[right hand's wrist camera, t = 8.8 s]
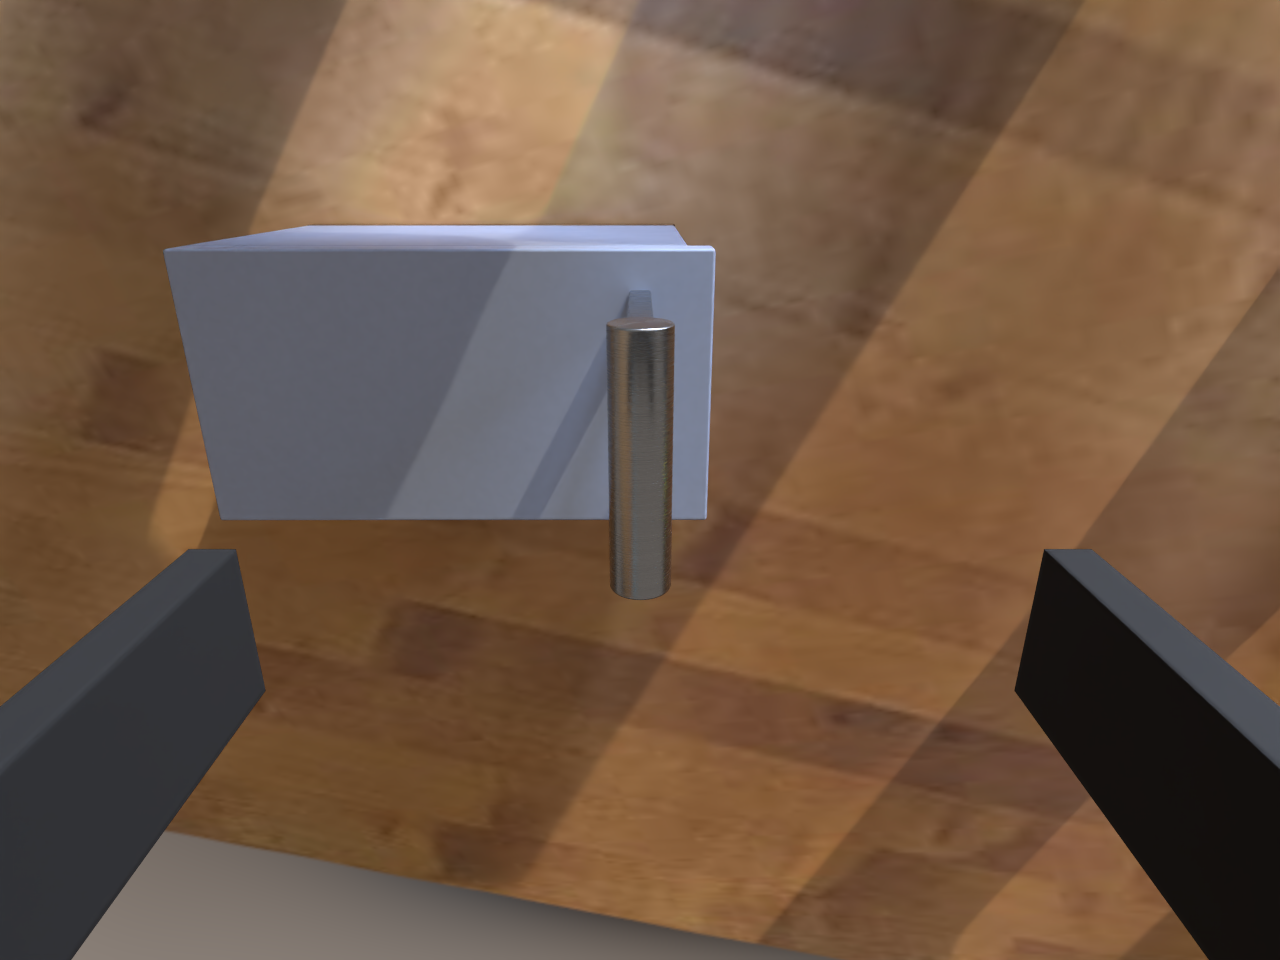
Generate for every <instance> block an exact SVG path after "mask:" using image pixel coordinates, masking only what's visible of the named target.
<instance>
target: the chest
mask: <svg viewBox="0 0 1280 960" xmlns="http://www.w3.org/2000/svg"><path fill="white" fill-rule="evenodd" d="M187 246H687V245H686V243H685V241H684V240H683V238H682V237H681V235H680V234H679V232H678V231H677V229H676V228H675V225H674V224H312V225H307V226H303V227H297V228H290V229H284V230H278V231H272V232H266V233H260V234H253V235H247V236H241V237H235V238H229V239H222V240H216V241H210V242H204V243H198V244H192V245H187Z"/></svg>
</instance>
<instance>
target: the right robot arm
mask: <svg viewBox="0 0 1280 960" xmlns="http://www.w3.org/2000/svg"><path fill="white" fill-rule="evenodd" d="M264 692H265V686H264V681H263V676H262V672H261V667H260V662H259V657H258V653H257V648H256V643H255V638H254V633H253V629H252V624H251V619H250V614H249V610H248V605H247V600H246V595H245V591H244V586H243V581H242V576H241V572H240V567H239V562H238V557H237V553H236V549H188V550H187V551H186V552H185V553H184V554H182V555H181V556H180V557H179V558H178V559H176V560H175V561H174V562H173V563H172V564H170V565H169V566H168V567H167V568H166V569H164V570H163V571H162V572H161V573H160V574H158V575H157V576H156V577H155V578H154V579H152V580H151V581H150V582H149V583H148V584H147V585H145V586H144V587H143V588H142V589H141V590H139V591H138V592H137V593H136V594H135V595H133V596H132V597H131V598H130V599H129V600H127V601H126V602H125V603H124V604H123V605H121V606H120V607H119V608H118V609H117V610H115V611H114V612H113V613H112V614H111V615H109V616H108V617H107V618H106V619H105V620H103V621H102V622H101V623H100V624H99V625H97V626H96V627H95V628H94V629H93V630H91V631H90V632H89V633H88V634H87V635H85V636H84V637H83V638H82V639H81V640H79V641H78V642H77V643H76V644H75V645H73V646H72V647H71V648H70V649H69V650H68V651H66V652H65V653H64V654H63V655H62V656H60V657H59V658H58V659H57V660H56V661H54V662H53V663H52V664H51V665H50V666H48V667H47V668H46V669H45V670H44V671H42V672H41V673H40V674H39V675H38V676H36V677H35V678H34V679H33V680H32V681H30V682H29V683H28V684H27V685H26V686H24V687H23V688H22V689H21V690H20V691H18V692H17V693H16V694H15V695H14V696H12V697H11V698H10V699H9V700H8V701H6V702H5V703H4V704H3V705H2V706H0V960H71V959H72V958H73V956H74V955H75V954H76V952H77V951H78V950H79V948H80V947H81V945H82V944H83V943H84V941H85V940H86V938H87V937H88V936H89V934H90V933H91V932H92V930H93V929H94V927H95V926H96V925H97V923H98V922H99V920H100V919H101V918H102V916H103V915H104V914H105V912H106V911H107V909H108V908H109V907H110V905H111V904H112V902H113V901H114V900H115V898H116V897H117V896H118V894H119V893H120V891H121V890H122V889H123V887H124V886H125V884H126V883H127V882H128V880H129V879H130V877H131V876H132V875H133V873H134V872H135V871H136V869H137V868H138V866H139V865H140V864H141V862H142V861H143V860H144V858H145V857H146V855H147V854H148V853H149V851H150V850H151V848H152V847H153V846H154V844H155V843H156V842H157V840H158V839H159V837H160V836H161V835H162V833H163V832H164V830H165V829H166V828H167V826H168V825H169V824H170V822H171V821H172V819H173V818H174V817H175V815H176V814H177V812H178V811H179V810H180V808H181V807H182V806H183V804H184V803H185V801H186V800H187V799H188V797H189V796H190V794H191V793H192V792H193V790H194V789H195V788H196V786H197V785H198V783H199V782H200V781H201V779H202V778H203V776H204V775H205V774H206V772H207V771H208V770H209V768H210V767H211V765H212V764H213V763H214V761H215V760H216V758H217V757H218V756H219V754H220V753H221V752H222V750H223V749H224V747H225V746H226V745H227V743H228V742H229V741H230V739H231V738H232V736H233V735H234V734H235V732H236V731H237V729H238V728H239V727H240V725H241V724H242V723H243V721H244V720H245V718H246V717H247V716H248V714H249V713H250V711H251V710H252V709H253V707H254V706H255V705H256V703H257V702H258V700H259V699H260V698H261V696H262V695H263V693H264ZM1015 692H1016V693H1017V695H1018V696H1019V698H1020V699H1021V700H1022V702H1023V703H1024V705H1025V706H1026V707H1027V709H1028V710H1029V711H1030V713H1031V714H1032V716H1033V717H1034V718H1035V720H1036V721H1037V723H1038V724H1039V725H1040V727H1041V728H1042V729H1043V731H1044V732H1045V734H1046V735H1047V736H1048V738H1049V739H1050V741H1051V742H1052V743H1053V745H1054V746H1055V747H1056V749H1057V750H1058V752H1059V753H1060V754H1061V756H1062V757H1063V759H1064V760H1065V761H1066V763H1067V764H1068V765H1069V767H1070V768H1071V770H1072V771H1073V772H1074V774H1075V775H1076V776H1077V778H1078V779H1079V781H1080V782H1081V783H1082V785H1083V786H1084V788H1085V789H1086V790H1087V792H1088V793H1089V794H1090V796H1091V797H1092V799H1093V800H1094V801H1095V803H1096V804H1097V806H1098V807H1099V808H1100V810H1101V811H1102V812H1103V814H1104V815H1105V817H1106V818H1107V819H1108V821H1109V822H1110V824H1111V825H1112V826H1113V828H1114V829H1115V830H1116V832H1117V833H1118V835H1119V836H1120V837H1121V839H1122V840H1123V842H1124V843H1125V844H1126V846H1127V847H1128V848H1129V850H1130V851H1131V853H1132V854H1133V855H1134V857H1135V858H1136V860H1137V861H1138V862H1139V864H1140V865H1141V866H1142V868H1143V869H1144V871H1145V872H1146V873H1147V875H1148V876H1149V878H1150V879H1151V880H1152V882H1153V883H1154V884H1155V886H1156V887H1157V889H1158V890H1159V891H1160V893H1161V894H1162V896H1163V897H1164V898H1165V900H1166V901H1167V902H1168V904H1169V905H1170V907H1171V908H1172V909H1173V911H1174V912H1175V914H1176V915H1177V916H1178V918H1179V919H1180V920H1181V922H1182V923H1183V925H1184V926H1185V927H1186V929H1187V930H1188V932H1189V933H1190V934H1191V936H1192V937H1193V938H1194V940H1195V941H1196V943H1197V944H1198V945H1199V947H1200V948H1201V950H1202V951H1203V952H1204V954H1205V955H1206V956H1207V958H1208V959H1209V960H1280V706H1278V705H1277V704H1276V703H1275V702H1274V701H1272V700H1271V699H1270V698H1269V697H1268V696H1266V695H1265V694H1264V693H1263V692H1262V691H1260V690H1259V689H1258V688H1257V687H1256V686H1254V685H1253V684H1252V683H1251V682H1250V681H1248V680H1247V679H1246V678H1245V677H1244V676H1242V675H1241V674H1240V673H1239V672H1238V671H1236V670H1235V669H1234V668H1233V667H1232V666H1230V665H1229V664H1228V663H1227V662H1226V661H1224V660H1223V659H1222V658H1221V657H1220V656H1218V655H1217V654H1216V653H1215V652H1214V651H1212V650H1211V649H1210V648H1209V647H1208V646H1207V645H1205V644H1204V643H1203V642H1202V641H1201V640H1199V639H1198V638H1197V637H1196V636H1195V635H1193V634H1192V633H1191V632H1190V631H1189V630H1187V629H1186V628H1185V627H1184V626H1183V625H1181V624H1180V623H1179V622H1178V621H1177V620H1175V619H1174V618H1173V617H1172V616H1171V615H1169V614H1168V613H1167V612H1166V611H1165V610H1163V609H1162V608H1161V607H1160V606H1159V605H1157V604H1156V603H1155V602H1154V601H1153V600H1151V599H1150V598H1149V597H1148V596H1147V595H1145V594H1144V593H1143V592H1142V591H1141V590H1139V589H1138V588H1137V587H1136V586H1135V585H1133V584H1132V583H1131V582H1130V581H1129V580H1128V579H1126V578H1125V577H1124V576H1123V575H1122V574H1120V573H1119V572H1118V571H1117V570H1116V569H1114V568H1113V567H1112V566H1111V565H1110V564H1108V563H1107V562H1106V561H1105V560H1104V559H1102V558H1101V557H1100V556H1099V555H1098V554H1096V553H1095V552H1094V551H1093V550H1092V549H1044V553H1043V557H1042V562H1041V567H1040V572H1039V576H1038V581H1037V586H1036V591H1035V595H1034V600H1033V605H1032V610H1031V614H1030V619H1029V624H1028V629H1027V633H1026V638H1025V643H1024V648H1023V652H1022V657H1021V662H1020V667H1019V672H1018V676H1017V681H1016V686H1015Z"/></svg>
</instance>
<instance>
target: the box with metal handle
mask: <svg viewBox="0 0 1280 960" xmlns="http://www.w3.org/2000/svg"><path fill="white" fill-rule="evenodd" d="M163 254H164V258H165V263H166V268H167V272H168V277H169V282H170V286H171V291H172V296H173V300H174V305H175V309H176V314H177V319H178V323H179V328H180V333H181V337H182V342H183V347H184V351H185V356H186V361H187V365H188V370H189V375H190V379H191V384H192V389H193V393H194V398H195V402H196V407H197V412H198V416H199V421H200V426H201V430H202V435H203V440H204V444H205V449H206V454H207V458H208V463H209V468H210V472H211V477H212V482H213V486H214V491H215V496H216V500H217V505H218V509H219V514H220V518H221V520H609V542H610V586H611V588H612V590H613V591H614V592H615V593H616V594H617V595H619V596H621V597H624V598H628V599H634V600H647V599H653V598H657V597H659V596H662V595H663V594H665V593H666V592H667V591H668V590H669V588H670V586H671V536H672V520H705V519H706V517H707V490H708V461H709V431H710V402H711V373H712V343H713V314H714V285H715V255H716V252H715V249H714V248H713V247H712V246H180V247H174V248H167V249H164V250H163Z"/></svg>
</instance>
